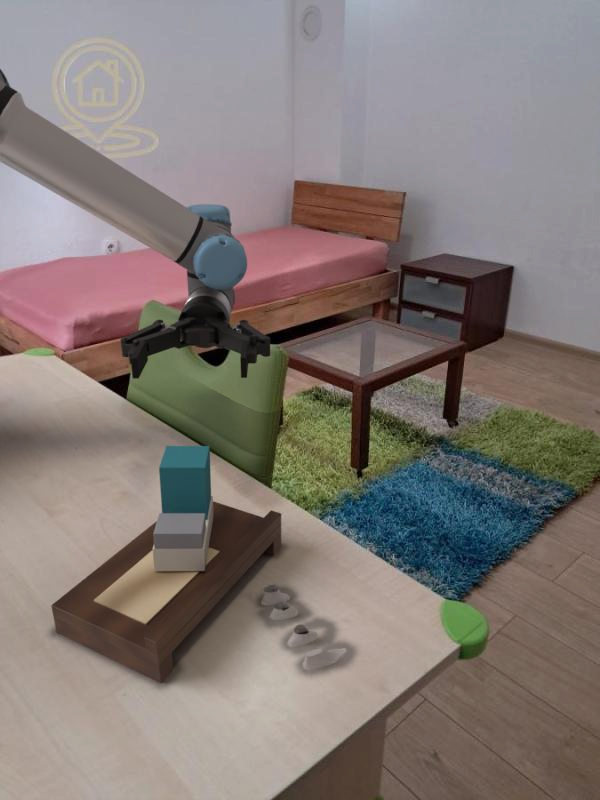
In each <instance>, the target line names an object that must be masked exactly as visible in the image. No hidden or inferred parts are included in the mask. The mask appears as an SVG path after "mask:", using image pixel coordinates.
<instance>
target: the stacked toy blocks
mask: <svg viewBox="0 0 600 800" xmlns="http://www.w3.org/2000/svg"><path fill="white" fill-rule="evenodd" d="M210 447H211V446H210V445H165V450H164V452H163V455H162V458H161V461H160V463H159V466H158V471H159V472H158V473H159V484H160V485H159V487H160V503H161V504H160V505H161V512H160V513H158V515H157V520H156V521H157V523H156V526H155V530H154V533H153V536H154V546H153V562H154V571H205V568H206V561H207V555H208V548H209V542H210V535H211V528H212V522H213V501H214V496H213V495H212V479H211V478H212V477H211V448H210Z"/></svg>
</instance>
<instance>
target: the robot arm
mask: <svg viewBox="0 0 600 800" xmlns="http://www.w3.org/2000/svg"><path fill="white" fill-rule="evenodd" d="M8 80H9V79H8V78H7V76H6V75H5V73H4V71H3V70H2V69H1V68H0V163H2V164H3V165H5V166H7V167H9V168H11V169H12V170H13V171H16V172H18V173H19V174H21V175H23V176H25V177H27V178H28V179H29V180H32V181H33V182H35V183H37V184H39V185H40V186H42V187H43V188H45V189H47V190H49V191H51V192H52V193H54V194H56V195H57V196H59V197H61V198H63V199H64V200H66V201H68V202H70V203H71V204H73V205H75V206H77V207H78V208H80V209H82V210H84V211H85V212H87V213H89V214H90V215H92V216H94V217H95V218H98V219H99V220H101V221H103V222H105V223H106V224H108V225H110V226H112V227H113V228H115V229H117V230H118V231H120V232H122V233H124V234H125V235H127V236H129V237H131V238H132V239H134V240H136V241H137V242H139V243H141V244H143V245H145V246H146V247H148V248H150V249H152V250H153V251H155V252H156V253H159V254H160V255H162V256H164V257H165V258H166V259H169V260H171V261H172V262H173V263H176V264H177V265H178V266H180V267H182V268H183V269H185V270H186V280H187V293H188V294H187V299H186V301H185V303H184V305H183V307H182V310H181V312H180V314H179V317H178V319H177V321H176V322H174V323H172V324H170V325H168V324H166V323H165V322H164V320H163V319H157V320H155V321H153V323H151V324H150V325H147V326H145V327H143V328H141V329H139V330H136V331H134V332H132V333H130V334H128V335H126V336H123V337H121V338H120V339H119V340H120V346H121V347H120V348H121V356H122V358H128V363H129V365H130V367H131V376H132V377H131V378H132V379H134V380H135V379H140V377H141V375H142V373H143V371H144V369H145V367H146V365H147V363H148V361H149V357H150V356H153V355H156V354H159V353H161V352H164V351H168V350H170V349H173V348H175V349H178V350H180V349H182V348H186V347H189V346H190V347H196V348H199V349H209V348H213V347H215V348H218V349H225V348H226V349H228V350H230V351H232V352H235V353H237V354H239V355H240V358H239V360H240V378H241V379H247V378H248V371H249V365H251V364H252V365H253V364H255V365H256V363H257V362H258V356H259V355H260V356H261V357H264V358H268V357H271V337H269V336H267V335H266V334H264V333H263V332H261V331H260V330H259V329H257V328H255V327H254V326H252V325H251V324H249V320H247V319H241V320H239V322H237V323H236V325H231V324H230V321H231V317H232V312H233V308H234V306H235V301H236V294H235V289H234V287H236V286H237V285H238V284H239V283H241V281H242V280H243V279H244V278H245V275H246V273H247V269H248V257H247V254H246V250H245V248H244V245H243V244H242V243H241V241H239V239H237V238H236V237H235V236H234V235H233V234H232V225H233V224H232V222H231V213H230V212H231V211H230V209H229V208H228V207H227V206H225V205H224V204H223V205H222V204H214V203H213V204H211V203H203V204H193V205H188V206H186V205H184V204H182V203H181V202H178V201H177V200H175V199H173V197H171V196H169V195H167V194H166V193H164V192H162V191H161V190H159V189H158V188H156V187H155V186H154V185H151V184H150V183H148V182H147V181H145V180H144V179H142V178H141V177H139V176H137V175H136V174H134V173H133V172H131V171H129V170H127V169H126V168H125V167H123V166H121V165H120V164H118V163H117V162H115V161H114V160H112V159H110V158H109V157H107V156H105V155H103V154H102V153H100V152H99V151H98V150H96V149H94V148H92V147H91V146H89V145H88V144H86V143H85V142H83V141H82V140H80V139H78V138H77V137H75V136H73V135H72V134H71V133H69V132H67V131H65V130H64V129H63V128H61V127H59V126H58V125H56V124H55V123H53V122H52V121H50V120H48V119H46V118H45V117H43V116H42V115H40V114H39V113H37V112H35V111H34V110H32V109H30V108H29V107H27V105H26V103H25V101H24V98H23V96H22V93H20V92H19V91H18V90H16V89H14V88H13V87H11V84H10V83H9V81H8Z"/></svg>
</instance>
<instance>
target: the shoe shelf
mask: <svg viewBox="0 0 600 800" xmlns="http://www.w3.org/2000/svg"><path fill="white" fill-rule="evenodd" d="M156 523H157V520H156V521H155V522H154V523H152V524H151V525H150V526H149V527H148V528H146V529H145V530H144V531H143V532H141V533H140V534H138V535H137V536H136V537H135V538H134V539H132V540H131V541H129V543H128V544H126V545H124V546H123V547H122V548H121V549H119V550H118V551H117V552H116V553H115V554H113V555H112V556H111V557H110V558H109V559H107V560H106V561H104V562H103V563H102V564H101V565H100V566H98V567H97V568H96V569H95V570H93V571H92V572H91V573H90V574H88V575H87V576H86V577H85V578H83V579H82V580H81V581H80V582H79V583H77V584H76V585H74V587H72V588H71V589H70V590H68V591H67V592H66V593H65V594H63V595H61V597H60V598H58V599H57V600H55V601H54V603H52V604H51V605H50V606H51V612H52V618H53V622H54V627H55V631H56V633H57V634H59V635H61V636H63V637H65V638H67V639H69V640H71V641H73V642H75V643H77V644H79V645H81V646H83V647H85V648H87V649H89V650H92V651H94V652H96V653H97V654H99V655H101V656H104V657H106V658H108V659H110V660H112V661H114V662H116V663H118V664H119V665H122V666H124V667H126V668H129V669H130V670H132V671H135V672H136V673H138V674H141V675H142V676H145V677H146V678H148V679H151V680H152V681H155V682H157V683H159V684H162V683H163V682H164V681H165V679H167V677H168V676H169V675H170V674H171V673H172V672H173V671H174V661H173V659H174V658H173V652H174V651H175V650H176V649H177V647H179V645H180V644H181V643H182V642H183V641H184V640H185V639H186V638H187V637H188V636H189V634H191V632H192V631H193V630H194V629H195V628H196V627H197V626H198V625H199V623H200V622H202V620H203V619H204V618H205V617H206V616H207V615H208V614H209V613H210V612H211V610H212V609H214V607H215V606H216V605H217V604H218V603H219V602H220V601H221V599H222V598H224V597H225V595H226V594H227V593H228V592H229V591H230V590H231V588H232V587H234V585H235V584H236V583H237V582H238V581H239V580H240V579H241V578H242V577H243V576H244V574H245V573H246V572H247V571H248V570H249V569H250V568H251V567H252V566H253V565H254V564H255V563H256V561H257V560H258V559H259V558H261V556H262V555H263V554H267V555H269V556H272V557H274V556H275V555H276V554H277V553H278V552H280V550H281V548H282V513H281V512H278V511H275V510H270V511H268V513H267V514H265V516H264V517H263V516H260V515H257V514H253V513H250V512H247V511H246V510H245V511H244V510H241V509H239V508H235V507H232V506H229V505H227V504H223V503H220V502H217V501H214V500H213V522H212V528H211V535H210V542H209V548H208V555H207V561H206V568H205V571H154V562H153V546H154V536H153V533H154V530H155V526H156Z"/></svg>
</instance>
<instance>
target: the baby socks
mask: <svg viewBox="0 0 600 800" xmlns="http://www.w3.org/2000/svg"><path fill="white" fill-rule="evenodd" d="M290 600H291V596H290V595H289V594H287V593H284V592H281V590H280V588H279V585H278V584H269V585H267V586H264V588H263V597H262V599H261V601H260V604H261V605H264V606H273V609H272V612H271V613H270V615H269V618H270V619H271V620H273V621H284V620H289V619H292V618H295V617H296V616H298V615H299V611H298V609H297V608H295V607H292V606H291V605H290V603H289V602H287V601H290ZM301 633H302V634H301ZM317 637H318V632H317V631H316V630H310V627H309V626H308V625H306V624H302V623H301V624H297V625H296V626H295V627H294V628H293V632H292V635H291V636H290V637H289V639H288V640H287V642H286V644H287V647H289V648H297V647H301V646H306V645H308V644H310V643H312V642H314V641H315V640H316V639H317ZM346 652H348V651H347V648H345V647H342V648H333V649H328V650H325V649H323V648H315V649H313V650H310V651H307V652H306V653H305V655H304V660H303V662H302V668H303V669H304V670H305V671H314V670H318V669H321V668H323V667H327V666H330V665H334V663H337V662H338V660H340V658H341V655H342V654H345V653H346Z"/></svg>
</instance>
